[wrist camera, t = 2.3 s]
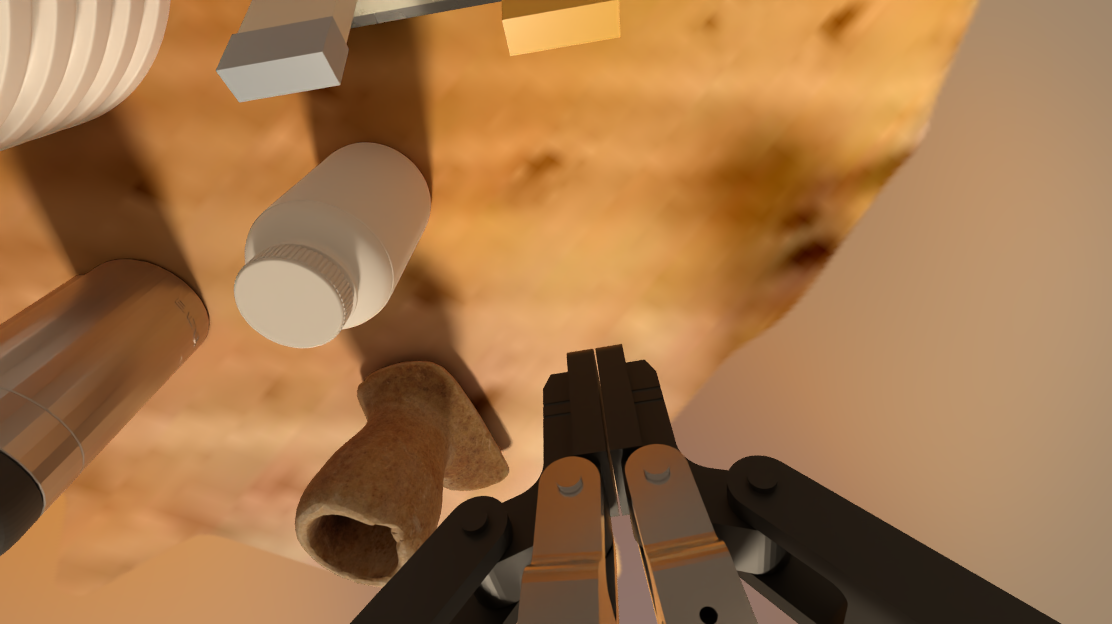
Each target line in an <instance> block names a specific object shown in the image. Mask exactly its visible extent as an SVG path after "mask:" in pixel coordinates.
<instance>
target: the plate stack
mask: <svg viewBox="0 0 1112 624" xmlns="http://www.w3.org/2000/svg"><path fill="white" fill-rule="evenodd" d="M169 8H170V0H0V151H2V150H5V149H8V148H11V147H14V146H17V145H20V144H23V143H25V142H28V141H31V140H35V139H38V138H41V137H44V136H47V135H50V134H53V133H56V132H58V131H61V130H64V129H68V128H71V127H74V126H77V125H80V124H83V123H86V122H88V121H90V120H93V119H95V118H97V117H99V116H101V115H103V114H105V113H107V112H108V111H110V110H111V109H113V108H114V107H116V106H117V105H119V104H120V103H121V102H122V101H124V100H125V99H126V98H127V97H128V96H129V95H130V94H131V93H132V92H133V91H134V90H135V89H136V88H137V86H138V85H139V84H140V82H141V81H142V80H143V78H144V77H145V75H146V74H147V72H148V71H149V69H150V67H151V66H152V64H153V62H154V60H155V58H156V55H157V53H158V51H159V48H160V45H161V42H162V40H163V36H164V33H165V29H166V25H167V20H168V15H169Z"/></svg>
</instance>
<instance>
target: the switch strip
mask: <svg viewBox="0 0 1112 624" xmlns="http://www.w3.org/2000/svg"><path fill="white" fill-rule="evenodd" d="M499 1H502V0H357V4H356V8H355V12H354V16H353V20H352V24H351V28H355V27H361V26H366V25H372V24H377V23H383V22H388V21H394V20H399V19H405V18H411V17H416V16H422V15H427V14H433V13H438V12H444V11H449V10H455V9H461V8H466V7H472V6H477V5H483V4H488V3H494V2H499Z"/></svg>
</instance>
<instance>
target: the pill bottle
mask: <svg viewBox="0 0 1112 624" xmlns="http://www.w3.org/2000/svg"><path fill="white" fill-rule="evenodd" d="M430 210H431V198H430V192H429V189H428V186H427V183H426V181H425V179H424V177H423V175H422V174H421V172H420V171H419V169H418V168H417V167H416V166H415V165H414V163H413V162H412V161H410V160H409V159H408V158H407V157H406V156H404V155H403V154H402V153H400V152H398V151H397V150H395V149H393V148H390V147H388V146H385V145H382V144H377V143H370V142H361V143H354V144H350V145H347V146H344V147H342V148H340V149H338V150H336V151H335V152H333V153H332V154H331V155H329V156H328V157H327V158H326V159H325V160H324V161H322V162H321V163H320V164H319V165H318V166H317V167H315V168H314V169H313V170H312V171H311V172H309V173H308V174H307V175H306V176H305V177H304V178H302V179H301V180H300V181H299V182H298V183H297V184H295V185H294V186H293V187H292V188H291V189H289V190H288V191H287V192H286V193H285V194H284V195H282V196H281V197H280V198H279V199H278V200H277V201H275V202H274V203H273V204H272V205H271V206H270V207H268V208H267V209H266V210H265V211H264V212H263V213H262V214H261V215H260V216H259V217H258V218H257V219H256V220H255V222H254V223H253V225H252V227H251V229H250V231H249V234H248V237H247V240H246V245H245V263H246V265H244V267H243V268H242V269H241V270H240V271H239V273H238V275H237V276H236V280H235V284H234V296H235V301H236V304H237V307H238V309H239V311H240V313H241V315H242V316H243V318H244V319H245V320H246V321H247V323H248V324H249V325H250V326H251V327H252V328H253V329H255V330H256V331H257V332H258V333H260V334H261V335H263V336H264V337H266V338H267V339H269V340H271V341H273V342H276V343H278V344H281V345H285V346H289V347H294V348H312V347H317V346H321V345H323V344H326V343H327V342H330V341H331V340H333V339H334V338H335V337H336V336H337V335H338V334H339V333H340V331H341V330H342V329H347V328H352V327H355V326H358V325H360V324H362V323H364V322H366V321H368V320H369V319H371V318H372V317H374V316H375V315H376V314H378V313H379V312H380V311H381V310H382V309H383V308H384V306H385V305H386V304H387V302H388V300H389V299H390V297H391V295H392V293H393V291H394V289H395V287H396V285H397V283H398V281H399V279H400V277H401V275H402V273H403V271H404V269H405V267H406V265H407V263H408V261H409V259H410V257H411V255H412V253H413V251H414V249H415V247H416V245H417V244H418V242H419V240H420V238H421V236H422V234H423V232H424V230H425V228H426V226H427V223H428V220H429V216H430Z"/></svg>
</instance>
